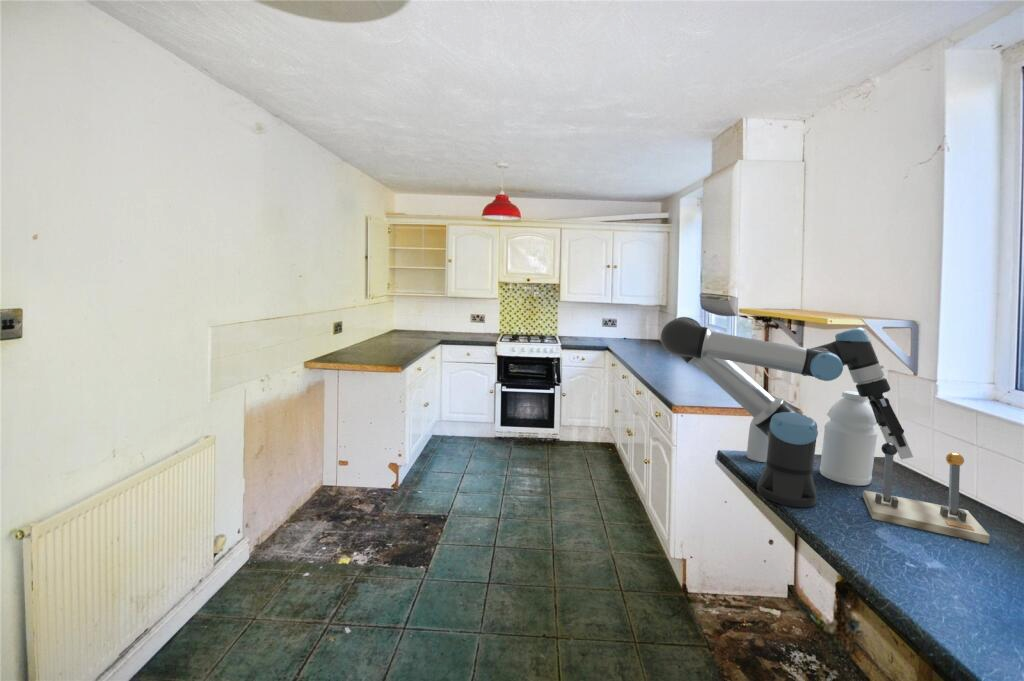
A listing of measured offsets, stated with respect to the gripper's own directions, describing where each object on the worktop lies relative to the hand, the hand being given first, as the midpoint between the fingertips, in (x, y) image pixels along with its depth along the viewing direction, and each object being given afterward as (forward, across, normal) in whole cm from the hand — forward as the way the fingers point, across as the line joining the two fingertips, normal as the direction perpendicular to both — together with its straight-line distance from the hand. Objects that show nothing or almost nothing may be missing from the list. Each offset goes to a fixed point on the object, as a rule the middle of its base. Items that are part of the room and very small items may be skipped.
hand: (900, 452), depth 137 cm
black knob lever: (+10, -6, +8) cm, 14 cm away
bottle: (+9, +17, +15) cm, 24 cm away
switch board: (+16, -6, +2) cm, 17 cm away
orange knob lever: (+16, -6, -5) cm, 17 cm away
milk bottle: (-2, +21, +37) cm, 43 cm away
